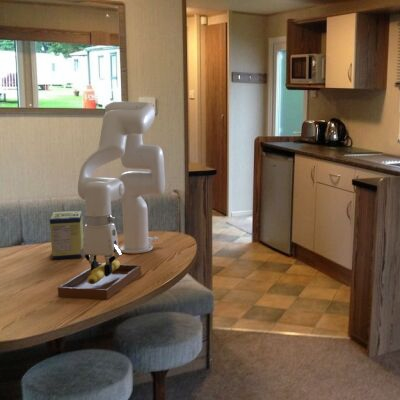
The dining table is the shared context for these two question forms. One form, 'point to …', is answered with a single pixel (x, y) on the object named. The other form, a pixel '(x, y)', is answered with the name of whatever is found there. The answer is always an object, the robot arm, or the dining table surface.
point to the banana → (101, 272)
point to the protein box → (66, 234)
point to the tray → (99, 283)
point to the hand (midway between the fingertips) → (101, 274)
